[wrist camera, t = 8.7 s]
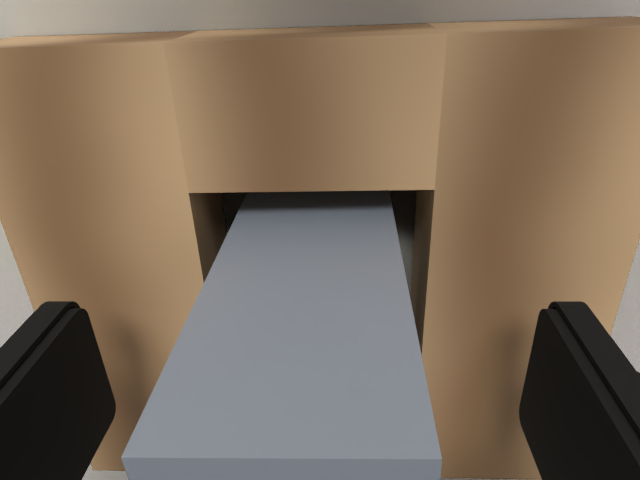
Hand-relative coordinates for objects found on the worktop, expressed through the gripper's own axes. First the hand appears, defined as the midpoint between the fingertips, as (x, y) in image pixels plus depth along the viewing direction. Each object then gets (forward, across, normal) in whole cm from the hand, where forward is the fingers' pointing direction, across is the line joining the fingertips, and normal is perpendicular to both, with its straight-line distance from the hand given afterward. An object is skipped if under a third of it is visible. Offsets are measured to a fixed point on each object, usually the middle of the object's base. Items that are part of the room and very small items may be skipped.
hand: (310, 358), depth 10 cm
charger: (+4, 0, 0) cm, 4 cm away
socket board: (+4, 0, 0) cm, 4 cm away
